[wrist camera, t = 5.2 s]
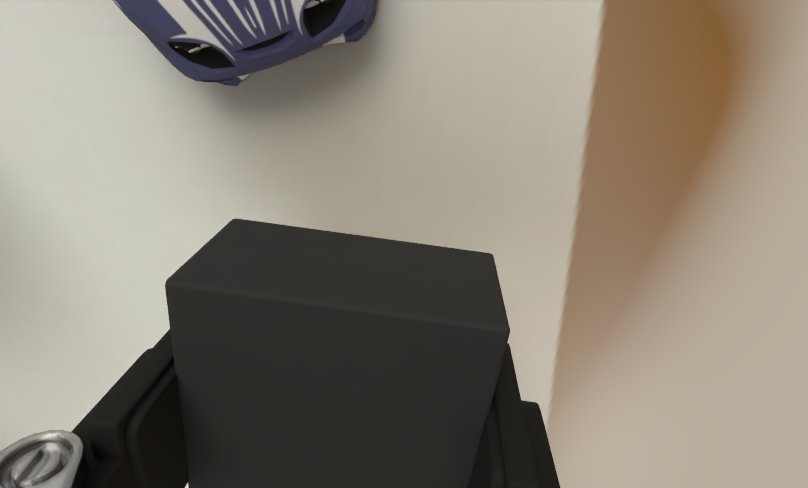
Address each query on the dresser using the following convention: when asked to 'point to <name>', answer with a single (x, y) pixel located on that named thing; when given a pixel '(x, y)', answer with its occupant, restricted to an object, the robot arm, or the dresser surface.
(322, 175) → the dresser surface
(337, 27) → the toy car
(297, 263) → the charcoal pad
